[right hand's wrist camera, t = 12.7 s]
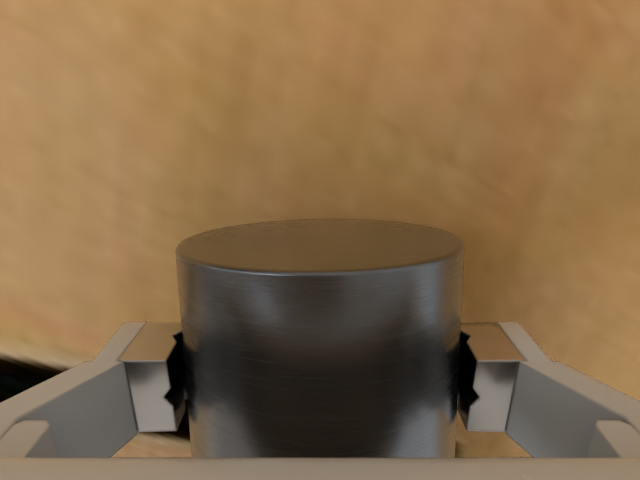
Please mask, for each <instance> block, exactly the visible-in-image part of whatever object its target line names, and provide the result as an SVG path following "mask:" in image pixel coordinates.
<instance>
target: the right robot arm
mask: <svg viewBox="0 0 640 480" xmlns="http://www.w3.org/2000/svg"><path fill="white" fill-rule="evenodd" d="M185 399H187V389H186V376H185V363H184V351H183V338H182V325H181V323H173V322H126V323H123V324H122V326H121V327H120V328H119V329H118V331H117V332H116V333H115V334H114V335H113V337H112V338H111V339H110V340H109V342H108V343H107V344H106V345H105V346H104V348H103V349H102V350H101V351H100V353H99V354H98V355H97V356H96V357H95V359H94V360H93V361H85V362H83V363H81V364H79V365H77V366H75V367H73V368H71V369H69V370H67V371H65V372H63V373H61V374H59V375H56V376H54V377H52V378H50V379H48V380H46V381H44V382H42V383H40V384H38V385H36V386H34V387H32V388H30V389H28V390H26V391H24V392H22V393H20V394H18V395H15V396H13V397H11V398H9V399H7V400H5V401H3V402H1V403H0V480H640V401H639V400H637V399H635V398H632V397H630V396H628V395H626V394H624V393H622V392H620V391H618V390H616V389H614V388H612V387H610V386H608V385H606V384H604V383H602V382H600V381H597V380H595V379H593V378H591V377H589V376H587V375H585V374H583V373H581V372H579V371H577V370H575V369H573V368H571V367H569V366H567V365H565V364H562V363H560V362H558V361H550V359H549V358H548V357H547V356H546V355H545V353H544V352H543V351H542V350H541V349H540V347H539V346H538V345H537V344H536V343H535V341H534V340H533V339H532V338H531V337H530V335H529V334H528V333H527V332H526V331H525V329H524V328H523V327H522V326H521V325H520V323H517V322H486V323H461V330H460V352H459V375H458V397H457V399H458V407H457V409H458V412H459V414H460V416H461V419H462V421H463V423H464V426H465V428H466V430H467V431H486V432H506V434H507V435H508V436H509V437H510V438H511V439H512V440H514V441H515V442H516V443H517V444H518V445H519V446H521V447H522V448H523V449H524V450H525V451H526V452H528V453H529V454H530V455H531V456H532V457H533V458H110V457H111V456H113V455H114V454H115V453H116V452H117V451H118V450H120V449H121V448H122V447H123V446H124V445H125V444H126V443H128V442H129V441H130V440H131V439H132V438H133V437H135V436H136V435H137V432H157V431H177V429H178V426H179V424H180V421H181V419H182V417H183V414H184V412H185V409H186V407H185Z"/></svg>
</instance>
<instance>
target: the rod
mask: <svg viewBox="0 0 640 480" xmlns="http://www.w3.org/2000/svg"><path fill="white" fill-rule="evenodd" d="M176 261H177V274H178V287H179V300H180V312H181V325H182V338H183V351H184V363H185V376H186V389H187V401H188V414H189V427H190V440H191V452H192V458H455V441H456V419H457V397H458V375H459V352H460V330H461V308H462V286H463V264H464V244H463V241H462V240H461V239H460V238H459V237H457V236H455V235H453V234H451V233H448V232H446V231H443V230H439V229H436V228H431V227H427V226H421V225H415V224H408V223H400V222H390V221H376V220H356V219H309V220H287V221H273V222H261V223H252V224H244V225H237V226H231V227H225V228H220V229H215V230H211V231H207V232H203V233H200V234H197V235H194V236H192V237H189V238H187V239H185V240H183V241H182V242H181V243H180V244H178V246H177V249H176Z"/></svg>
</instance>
